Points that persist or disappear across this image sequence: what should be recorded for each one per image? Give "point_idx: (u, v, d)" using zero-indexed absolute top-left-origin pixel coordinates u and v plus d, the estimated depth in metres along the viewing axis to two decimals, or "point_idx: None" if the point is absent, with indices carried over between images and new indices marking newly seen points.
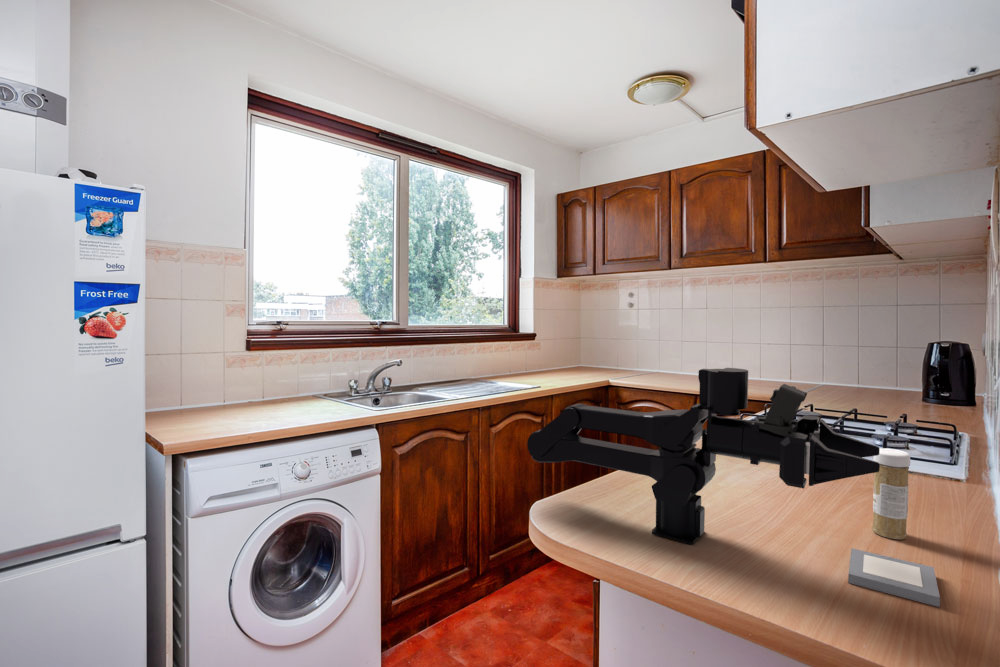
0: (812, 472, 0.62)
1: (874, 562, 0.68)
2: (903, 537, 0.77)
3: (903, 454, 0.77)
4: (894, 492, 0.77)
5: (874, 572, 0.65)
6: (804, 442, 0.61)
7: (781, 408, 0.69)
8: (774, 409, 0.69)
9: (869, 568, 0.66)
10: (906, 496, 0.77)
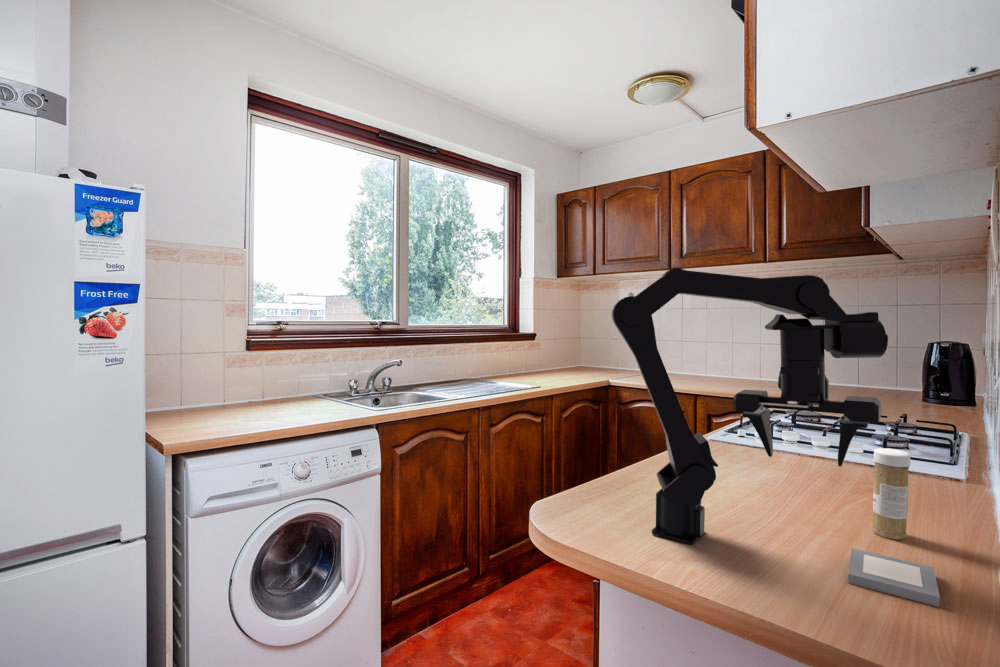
0: None
1: (874, 562, 0.68)
2: (903, 537, 0.77)
3: (903, 454, 0.77)
4: (894, 492, 0.77)
5: (874, 572, 0.65)
6: None
7: None
8: None
9: (869, 568, 0.66)
10: (906, 496, 0.77)
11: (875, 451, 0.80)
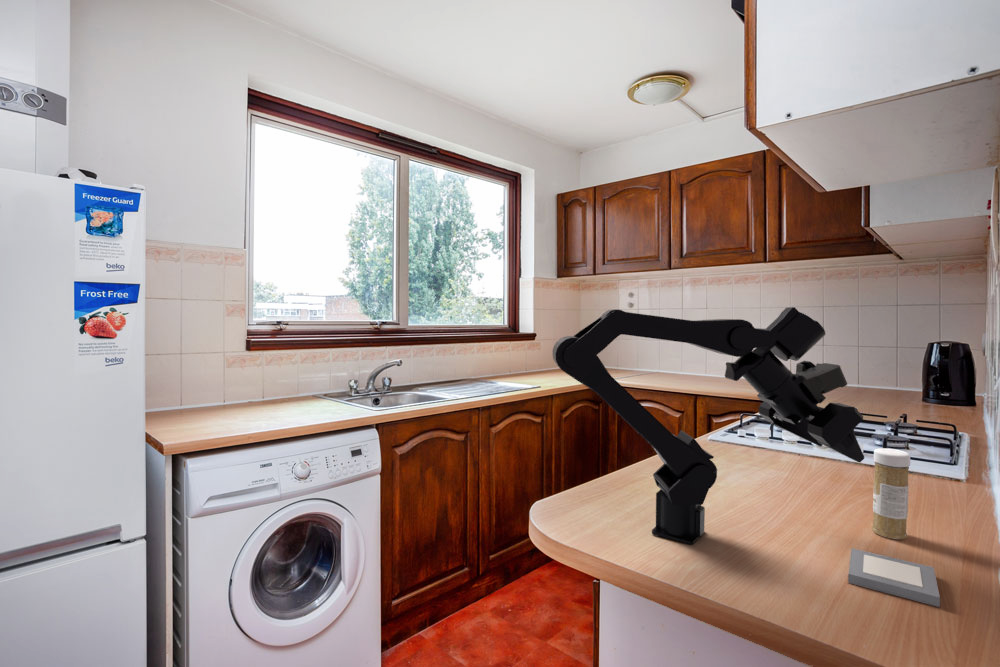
0: None
1: (874, 562, 0.68)
2: (903, 537, 0.77)
3: (903, 454, 0.77)
4: (894, 492, 0.77)
5: (874, 572, 0.65)
6: (862, 418, 0.70)
7: (829, 380, 0.76)
8: (824, 377, 0.76)
9: (869, 568, 0.66)
10: (906, 496, 0.77)
11: (875, 451, 0.80)
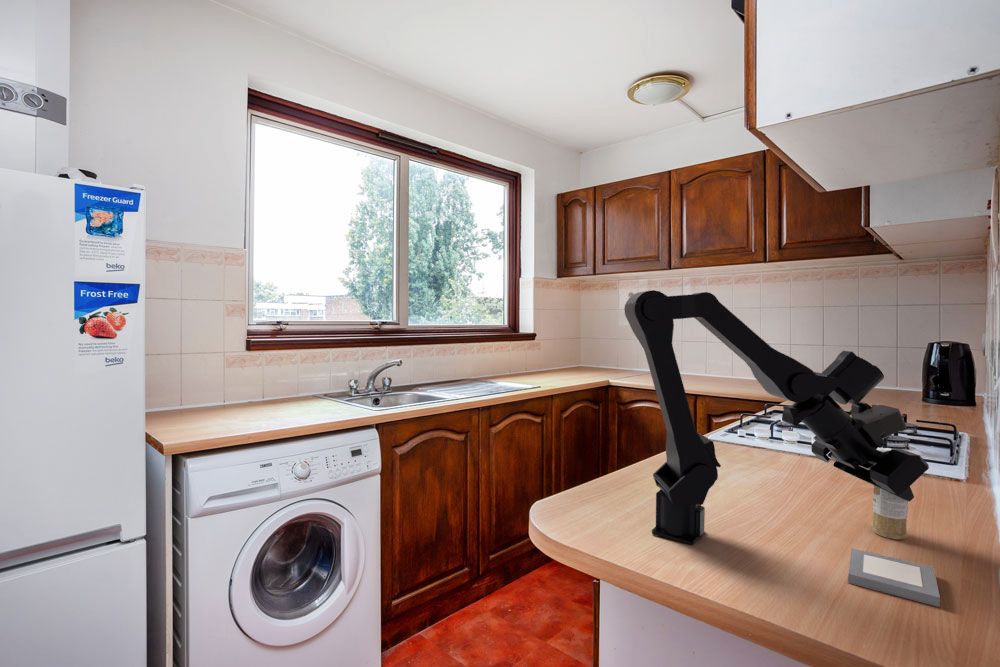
0: None
1: (874, 562, 0.68)
2: (903, 537, 0.77)
3: None
4: None
5: (874, 572, 0.65)
6: (927, 466, 0.70)
7: (889, 424, 0.77)
8: (884, 421, 0.76)
9: (869, 568, 0.66)
10: None
11: None
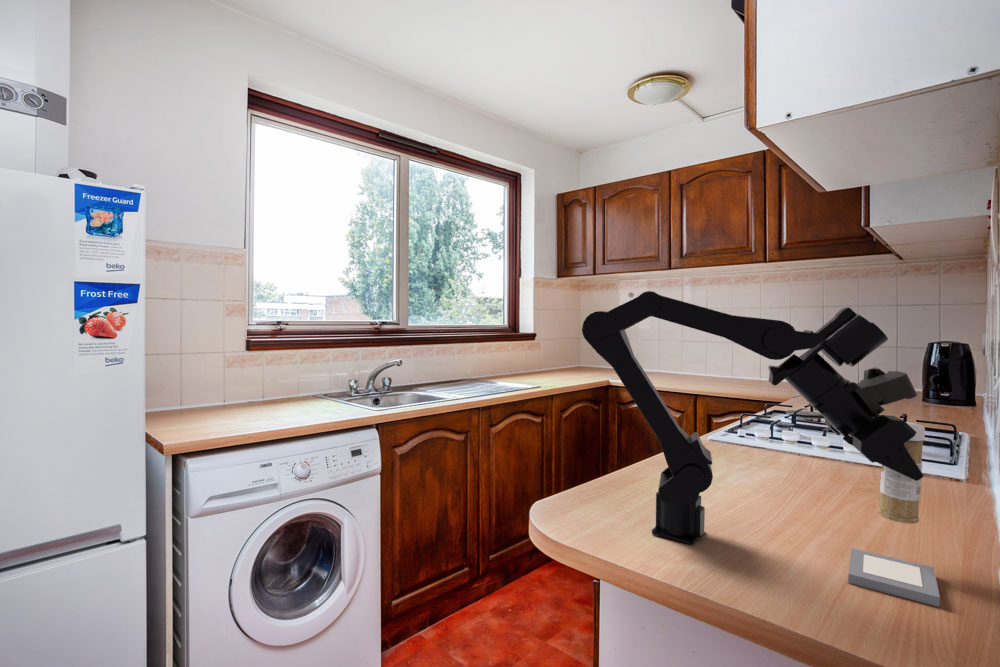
0: None
1: (874, 562, 0.68)
2: (909, 521, 0.68)
3: (913, 426, 0.67)
4: None
5: (874, 572, 0.65)
6: (914, 434, 0.61)
7: (890, 390, 0.67)
8: (884, 386, 0.68)
9: (869, 568, 0.66)
10: None
11: None
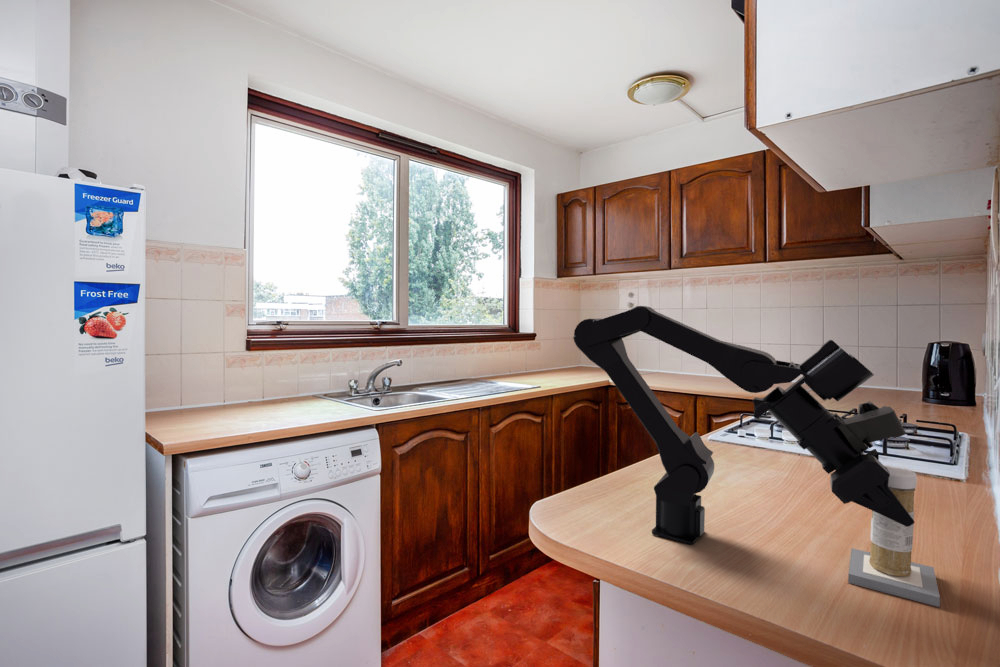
0: (861, 494, 0.62)
1: None
2: (898, 574, 0.64)
3: (901, 473, 0.64)
4: None
5: (874, 572, 0.65)
6: (886, 476, 0.59)
7: (875, 427, 0.64)
8: (868, 423, 0.65)
9: (869, 568, 0.66)
10: None
11: None
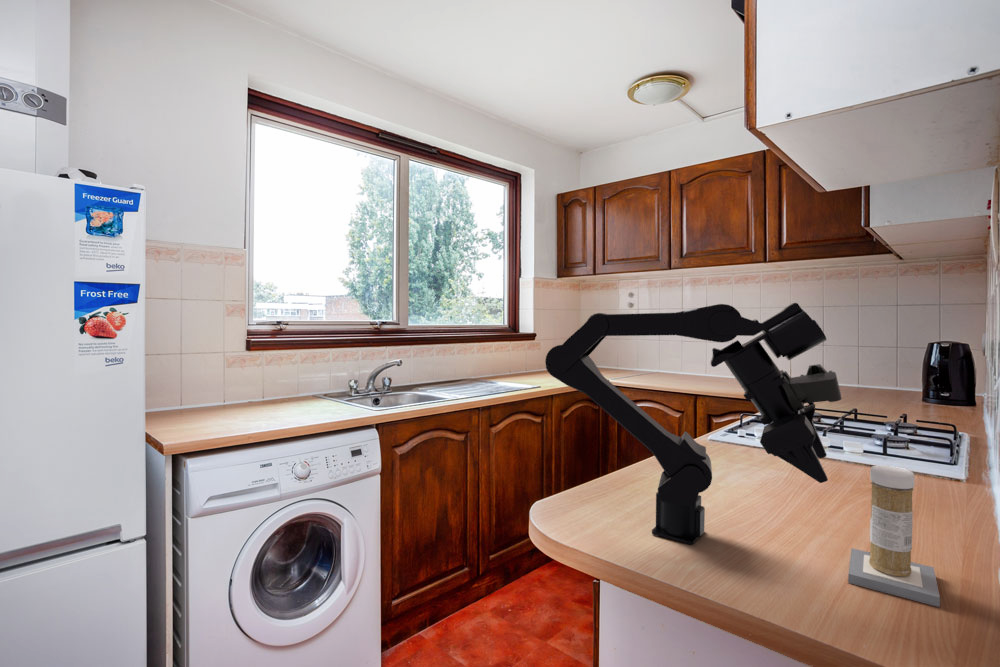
0: (786, 451, 0.67)
1: None
2: (898, 574, 0.64)
3: (899, 473, 0.64)
4: (885, 516, 0.65)
5: (874, 572, 0.65)
6: (810, 436, 0.65)
7: (815, 390, 0.69)
8: (810, 386, 0.69)
9: (869, 568, 0.66)
10: (902, 525, 0.64)
11: (872, 467, 0.67)
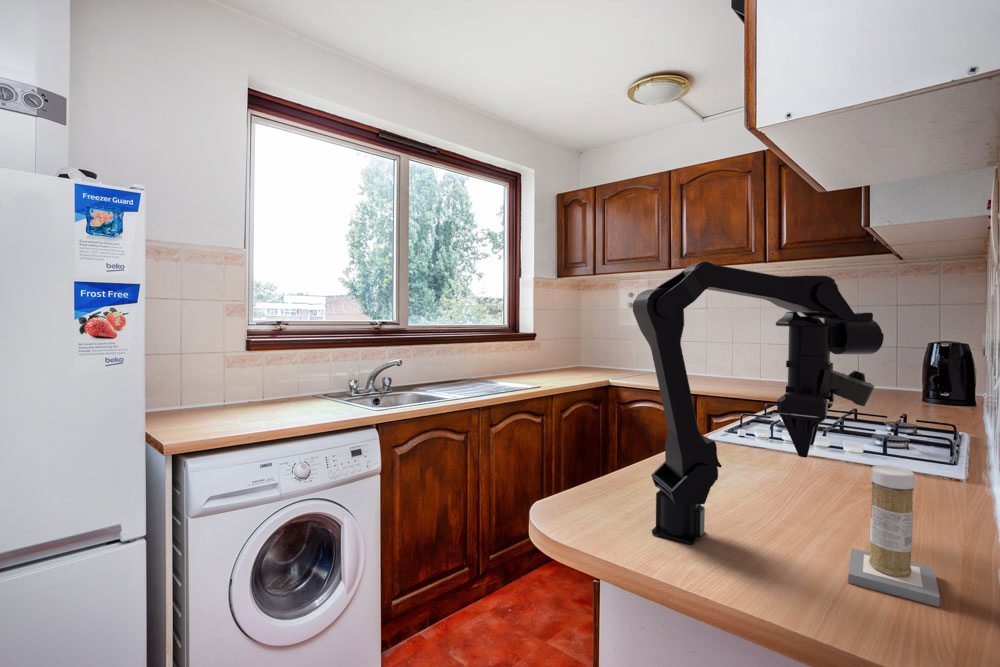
0: (792, 417, 0.75)
1: None
2: (898, 574, 0.64)
3: (899, 473, 0.64)
4: (885, 516, 0.65)
5: (874, 572, 0.65)
6: (822, 416, 0.72)
7: (849, 388, 0.75)
8: (847, 382, 0.75)
9: (869, 568, 0.66)
10: (903, 525, 0.64)
11: (872, 467, 0.67)
